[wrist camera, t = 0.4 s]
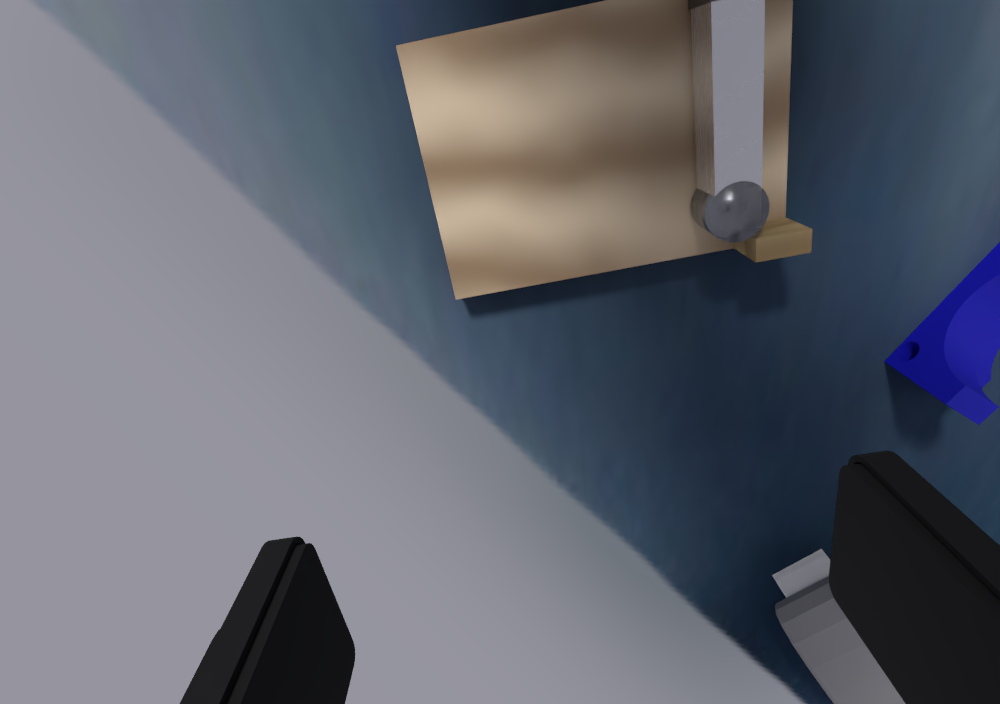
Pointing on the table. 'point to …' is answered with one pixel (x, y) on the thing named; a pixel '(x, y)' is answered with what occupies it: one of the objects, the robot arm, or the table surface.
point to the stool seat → (581, 143)
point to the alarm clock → (829, 636)
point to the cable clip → (958, 343)
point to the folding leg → (728, 117)
